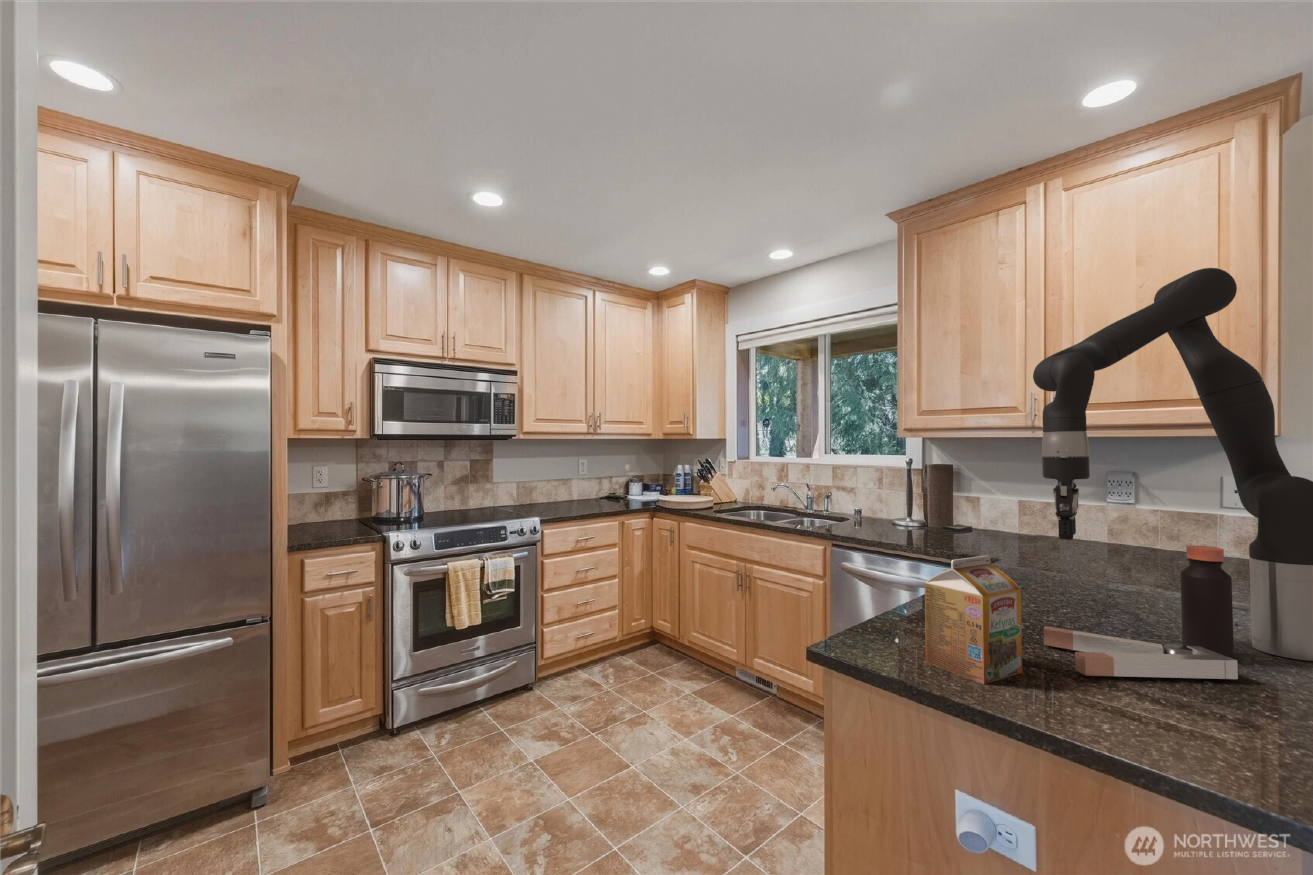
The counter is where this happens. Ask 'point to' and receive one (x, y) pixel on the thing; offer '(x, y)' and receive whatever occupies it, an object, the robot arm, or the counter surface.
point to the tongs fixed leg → (1158, 664)
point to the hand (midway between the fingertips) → (1067, 536)
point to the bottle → (1207, 601)
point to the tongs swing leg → (1106, 643)
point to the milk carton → (974, 621)
